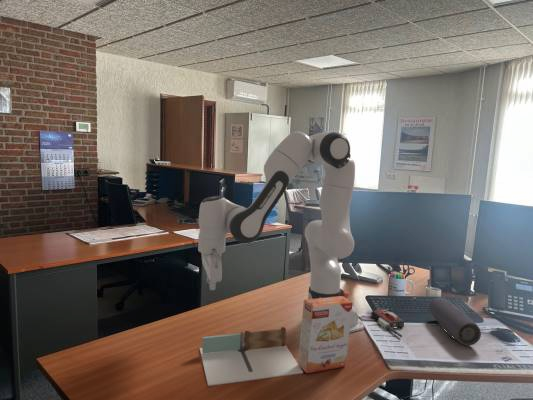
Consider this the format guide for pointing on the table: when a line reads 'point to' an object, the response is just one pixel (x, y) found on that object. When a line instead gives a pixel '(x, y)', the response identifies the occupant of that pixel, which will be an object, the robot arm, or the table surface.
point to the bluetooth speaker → (455, 321)
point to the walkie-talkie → (388, 320)
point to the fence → (264, 339)
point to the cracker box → (324, 333)
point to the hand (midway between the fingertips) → (211, 286)
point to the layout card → (248, 365)
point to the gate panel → (222, 343)
